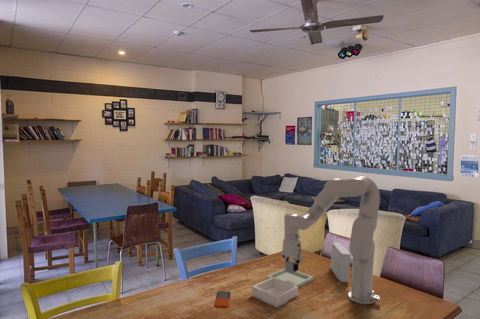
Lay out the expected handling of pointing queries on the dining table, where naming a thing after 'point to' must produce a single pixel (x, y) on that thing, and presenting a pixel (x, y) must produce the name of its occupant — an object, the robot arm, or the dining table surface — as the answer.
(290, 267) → the slate stone block
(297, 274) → the green tray
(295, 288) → the white bin
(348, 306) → the dining table surface
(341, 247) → the skincare box
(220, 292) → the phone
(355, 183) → the robot arm
